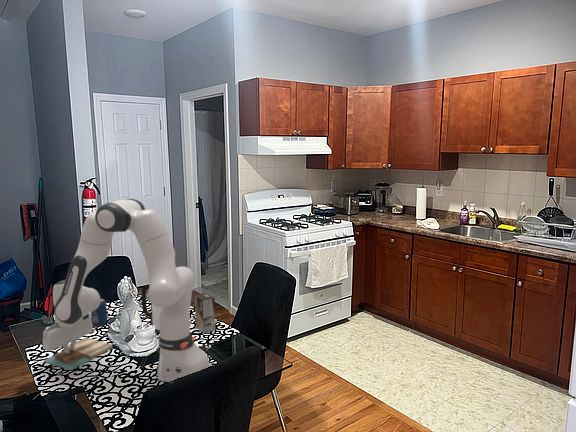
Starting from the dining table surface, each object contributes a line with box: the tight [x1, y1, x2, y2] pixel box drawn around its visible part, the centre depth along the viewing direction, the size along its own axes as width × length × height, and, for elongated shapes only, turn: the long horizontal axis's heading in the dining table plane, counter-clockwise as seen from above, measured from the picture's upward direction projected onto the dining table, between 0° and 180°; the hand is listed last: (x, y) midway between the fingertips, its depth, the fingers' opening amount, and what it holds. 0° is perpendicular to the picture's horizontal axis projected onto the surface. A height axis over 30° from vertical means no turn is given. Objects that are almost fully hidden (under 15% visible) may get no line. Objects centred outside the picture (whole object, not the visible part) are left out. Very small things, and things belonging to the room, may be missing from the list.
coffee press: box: [141, 284, 162, 331], centre depth 199 cm, size 17×16×30 cm
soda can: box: [90, 298, 108, 327], centre depth 206 cm, size 7×7×12 cm
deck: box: [63, 337, 113, 361], centre depth 179 cm, size 16×11×2 cm
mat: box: [43, 355, 91, 371], centre depth 170 cm, size 16×9×1 cm, turn 64°
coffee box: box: [194, 292, 216, 334], centre depth 200 cm, size 9×6×16 cm
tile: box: [53, 349, 83, 364], centre depth 171 cm, size 9×6×2 cm, turn 64°
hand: (70, 351), depth 171 cm, fingers closed
